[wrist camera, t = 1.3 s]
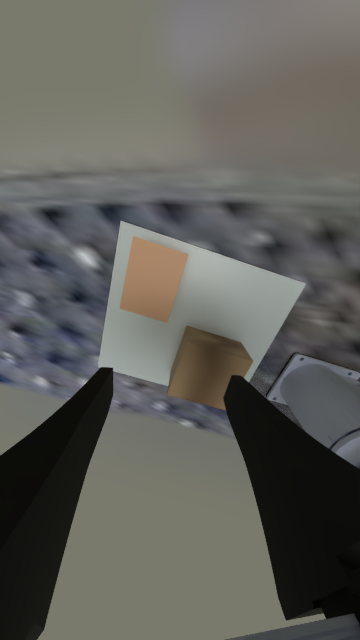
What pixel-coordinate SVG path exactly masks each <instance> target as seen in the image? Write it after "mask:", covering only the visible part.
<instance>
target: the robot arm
mask: <svg viewBox="0 0 360 640" xmlns="http://www.w3.org/2000/svg"><path fill="white" fill-rule="evenodd" d="M300 358H301V359H300ZM359 377H360V373H359V372H357V371H354V370H351V369H348V368H344V367H341V366H338V365H335V364H331V363H328V362H325V361H322V360H318V359H315V358H312V357H308V356H305V355H302V354H298V353H297V354H294V355H293V357H292V358H291V360H290V361H289V363H288V364H287V366H286V367H285V369H284V370H283V372H282V373H281V375H280V376H279V378H278V379H277V381H276V382H275V384H274V386H273V387H272V389H271V390H270V392H269V393H268V395H267V398H268V399H269V400H271V401H275V402H278V403H282V404H285V405H288V406H289V408H290V409H291V411H292V412H293V414H294V415H295V417H296V418H297V420H298V421H299V422H300V424H301V425H302V427H303V428H304V430H305V431H306V432H305V431H304V430H303V429H301V428H300V427H299V426H297V425H296V424H295V423H294V422H292V421H291V420H290V419H289V418H288V417H286V416H285V415H284V414H283V413H282V412H280V411H279V410H278V409H277V408H276V407H275V406H274V405H272V404H271V403H270V402H269V401H268V400H267V399H266V398H265V397H264V396H263V395H262V394H260V393H259V392H258V391H257V390H256V389H255V388H254V387H253V386H252V385H251V384H250V383H249V382H248V381H247V380H245V379H244V378H243V377H242V376H241V375H232V376H231V378H230V381H229V384H228V386H227V389H226V392H225V394H224V397H223V400H224V404H225V408H226V412H227V415H228V418H229V421H230V424H231V426H232V429H233V432H234V434H235V437H236V439H237V442H238V444H239V447H240V450H241V452H242V455H243V458H244V461H245V463H246V467H247V470H248V473H249V477H250V480H251V484H252V487H253V491H254V495H255V498H256V502H257V506H258V509H259V513H260V517H261V522H262V525H263V530H264V534H265V538H266V542H267V546H268V551H269V555H270V560H271V564H272V569H273V574H274V579H275V584H276V589H277V594H278V598H279V601H280V604H281V607H282V610H283V613H284V616H285V619H286V620H291V619H296V618H301V617H306V616H311V615H316V614H321V613H324V615H325V617H326V619H324V620H319V621H314V622H310V623H305V624H300V625H295V626H290V627H285V628H280V629H275V630H270V631H266V632H261V633H256V634H251V635H246V636H241V637H236V638H231V639H227V640H360V382H358V381H357V379H358V378H359ZM112 396H113V368H111V367H101V368H100V369H99V370H98V371H97V372H96V373H95V374H94V375H93V376H92V377H91V379H90V380H89V381H88V382H87V383H86V384H85V385H84V386H83V387H82V388H81V389H80V390H79V391H78V392H77V393H76V394H75V395H74V396H73V397H72V398H71V399H69V400H68V401H67V402H66V403H65V404H64V405H63V406H62V407H61V408H60V409H58V410H57V411H56V412H55V413H54V414H53V415H52V416H51V417H49V418H48V419H47V420H46V421H45V422H43V423H42V424H41V425H40V426H38V427H37V428H36V429H35V430H34V431H32V432H31V433H30V434H28V435H27V436H26V437H25V438H23V439H22V440H21V441H19V442H18V443H17V444H15V445H14V446H13V447H11V448H10V449H9V450H7V451H6V452H5V453H4V454H2V455H0V640H37V639H38V637H39V636H40V634H41V633H42V632H43V630H44V627H45V623H46V619H47V615H48V611H49V607H50V604H51V600H52V596H53V592H54V588H55V584H56V580H57V577H58V573H59V569H60V565H61V561H62V557H63V554H64V550H65V547H66V543H67V539H68V535H69V532H70V528H71V524H72V521H73V517H74V514H75V510H76V507H77V503H78V500H79V496H80V493H81V489H82V486H83V482H84V479H85V475H86V472H87V469H88V466H89V463H90V460H91V457H92V455H93V452H94V449H95V447H96V444H97V441H98V438H99V436H100V433H101V431H102V427H103V425H104V423H105V420H106V417H107V414H108V411H109V408H110V404H111V400H112ZM274 397H275V398H274Z"/></svg>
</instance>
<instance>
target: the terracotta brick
mask: <svg viewBox="0 0 360 640" xmlns="http://www.w3.org/2000/svg"><path fill="white" fill-rule="evenodd" d="M188 255H189V254H186V253H183V252H180V251H177V250H174V249H171V248H168V247H165V246H162V245H159V244H156V243H153V242H150V241H147V240H144V239H141V238H138V237H135V236H133V239H132V244H131V250H130V255H129V260H128V266H127V271H126V276H125V282H124V287H123V292H122V298H121V303H120V309H123V310H126V311H129V312H133V313H136V314H139V315H143V316H146V317H149V318H153V319H156V320H159V321H163V322H166V323H168V320H169V317H170V313H171V310H172V307H173V304H174V300H175V297H176V294H177V291H178V287H179V284H180V281H181V278H182V274H183V271H184V268H185V264H186V261H187V258H188Z"/></svg>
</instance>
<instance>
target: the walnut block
mask: <svg viewBox="0 0 360 640" xmlns="http://www.w3.org/2000/svg"><path fill="white" fill-rule="evenodd" d="M252 363H253V360H252V358H251V357H250V355H249V354H248V352H247V350H246V349H245V347H244V346H243V344H242V343H241V342H239V341H236V340H233V339H229V338H226V337H223V336H219V335H216V334H213V333H209V332H206V331H203V330H200V329H196V328H193V327H190V326H186V329H185V332H184V335H183V337H182V340H181V343H180V346H179V349H178V352H177V354H176V357H175V360H174V363H173V366H172V368H171V371H170V378H169V385H168V392H167V395H171V396H175V397H178V398H182V399H186V400H189V401H193V402H197V403H200V404H204V405H208V406H212V407H215V408H219V409H223V410H226V408H225V404H224V400H223V397H224V394H225V392H226V389H227V386H228V384H229V381H230V378H231V376H232V375H241V376H242V377H243V378H244V377H245V375H246V374H247V372H248V370H249V368H250V367H251V365H252Z"/></svg>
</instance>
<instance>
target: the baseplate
mask: <svg viewBox="0 0 360 640" xmlns="http://www.w3.org/2000/svg"><path fill="white" fill-rule="evenodd" d="M133 236H135V237H138V238H141V239H144V240H147V241H150V242H153V243H156V244H159V245H162V246H165V247H168V248H171V249H174V250H177V251H180V252H183V253H186V254H189V255H188V258H187V261H186V264H185V268H184V271H183V274H182V278H181V281H180V284H179V287H178V291H177V294H176V297H175V300H174V304H173V307H172V310H171V313H170V317H169V320H168V323H166V322H163V321H159V320H156V319H153V318H149V317H146V316H143V315H139V314H136V313H133V312H129V311H126V310H123V309H120V303H121V298H122V292H123V287H124V282H125V276H126V271H127V266H128V260H129V255H130V250H131V244H132V239H133ZM305 285H306V284H305V283H302V282H299V281H296V280H293V279H291V278H288V277H285V276H282V275H279V274H276V273H273V272H270V271H267V270H264V269H261V268H258V267H255V266H252V265H249V264H246V263H244V262H241V261H238V260H235V259H232V258H229V257H226V256H223V255H220V254H217V253H214V252H211V251H208V250H205V249H202V248H199V247H197V246H194V245H191V244H188V243H185V242H182V241H179V240H176V239H173V238H170V237H167V236H164V235H161V234H158V233H155V232H153V231H150V230H147V229H144V228H141V227H138V226H135V225H132V224H129V223H126V222H123V221H121V224H120V230H119V236H118V243H117V249H116V255H115V262H114V268H113V274H112V281H111V287H110V293H109V300H108V306H107V312H106V319H105V325H104V331H103V338H102V344H101V351H100V357H99V363H98V367H100V368H101V367H111V368H113V371H115V372H118V373H122V374H126V375H129V376H133V377H137V378H140V379H144V380H147V381H151V382H155V383H158V384H162V385H166V386H168V385H169V378H170V371H171V368H172V366H173V363H174V360H175V357H176V354H177V352H178V349H179V346H180V343H181V340H182V337H183V335H184V332H185V329H186V326H190V327H193V328H196V329H200V330H203V331H206V332H209V333H213V334H216V335H219V336H223V337H226V338H229V339H233V340H236V341H239V342H241V343H242V344H243V346H244V347H245V349H246V350H247V352H248V354H249V355H250V357H251V358H252V360H253V363H252V365H251V367H250V368H249V370H248V372H247V374H246V375H245V377H244V379H245V380H247V381H248V382H249V381H250V379H251V377H252V376H253V374H254V372H255V371H256V369H257V367H258V366H259V364H260V362H261V360H262V359H263V357H264V355H265V354H266V352H267V350H268V348H269V347H270V345H271V343H272V342H273V340H274V338H275V336H276V335H277V333H278V331H279V330H280V328H281V326H282V324H283V323H284V321H285V319H286V318H287V316H288V314H289V312H290V311H291V309H292V307H293V306H294V304H295V302H296V300H297V299H298V297H299V295H300V294H301V292H302V290H303V288H304V287H305Z"/></svg>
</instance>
